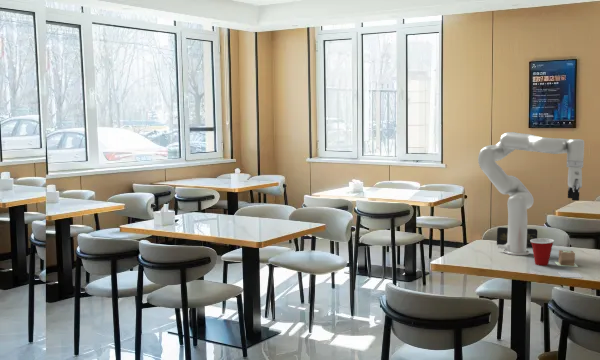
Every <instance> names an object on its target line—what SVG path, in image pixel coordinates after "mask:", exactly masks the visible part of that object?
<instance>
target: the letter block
mask: <svg viewBox="0 0 600 360" xmlns="http://www.w3.org/2000/svg"><path fill="white" fill-rule="evenodd" d="M575 259H576V253H575V251H573V250H563V249H562V250H561V249H559V250H558V262H559V264H560V265H570V266H574V263H575V262H576V261H575ZM575 264H576V263H575ZM570 266H569V267H570Z"/></svg>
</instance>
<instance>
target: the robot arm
mask: <svg viewBox="0 0 600 360" xmlns="http://www.w3.org/2000/svg"><path fill="white" fill-rule="evenodd" d="M515 150H517V151H518V150H519V151H526V152H531V153H532V152H537V153H543V154H553V155H557V154H559V155H561V154H566V168H568V171H567V186H568V188H567V189H568V190H567V199H571V201H573V202H574V201H578V202H579V201H580V189H581V188H582V187H583V170H582V168H584V159H585V158H584V157H585V141H584V140H583V139H579V138H576V139H575V138H572V139H571V138H570V139H568V138H562V137H560V138H556V137H555V138H553V137H545V136H544V137H543V136H538V135H535V134H530V133H519V132H515V131H511V132H510V131H507V132H504V133H502V134H501V136H500V138H499V142H497V143H496V144H491V145H486V146H484V147H482V148H481V149H480V150H479V153H478V156H477V161H478V166H479V168H480V170H481V171H482V172H483V174H484V175H485V176H486V177H487V178H488V180H489V181H490V182H491V184H493V186H494V188H496V190H497V191H498V192H499V193H500V194H501V195H508V196H509V197H508V198H507V204H506V206H507V214H508V215H507V216H508V217H507V228H508V239H507V243H506V244H504V245H497V249H500V250H503V253H504V254H507V255H512V256H513V255H514V256H527V255H530V251H529V250H527V247H526V245H527V229H528V211H527V210H529V209H530V208H532V206H533V205H534V201H535V200H534V199H535V198H534V197H533V195H532V193H531V192H530V190H529V189H528V188H527V187H526V185H524V183H523V182H522V181H521V180H520V179H519V178H518V177H517V176H514V175H509V174H507V173H506V172H505V171H504V169H503V168H502V167H501V166H500V165H499V164H498V163H497V162H498V161H501V160H503V159H504V158H506V157H507V156H509V154H511V153H512V152H514V151H515Z"/></svg>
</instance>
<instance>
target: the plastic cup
mask: <svg viewBox="0 0 600 360" xmlns="http://www.w3.org/2000/svg"><path fill="white" fill-rule="evenodd" d="M530 242H531V244H532V247H531V248H532V253H533V259H534V264H535V265H536V266H545V267H546V266H548V265H549V261H550V258H551V254H552V248H553V244H554V242H555V240H554V239H552V238H545V237H544V238H543V237H542V238H540V237H539V238H538V237H537V239H532V240H530Z"/></svg>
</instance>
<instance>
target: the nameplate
mask: <svg viewBox="0 0 600 360" xmlns="http://www.w3.org/2000/svg"><path fill="white" fill-rule="evenodd" d="M507 239H508V227H503V226H502V227H501V226H500V227H499V226H498V227H497V228H496V245H497V246H498V245H504V244H506V243H507ZM532 239H538V229H537V228H527V245H526V248H533V247H532V244H531V242H530V240H532Z"/></svg>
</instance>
